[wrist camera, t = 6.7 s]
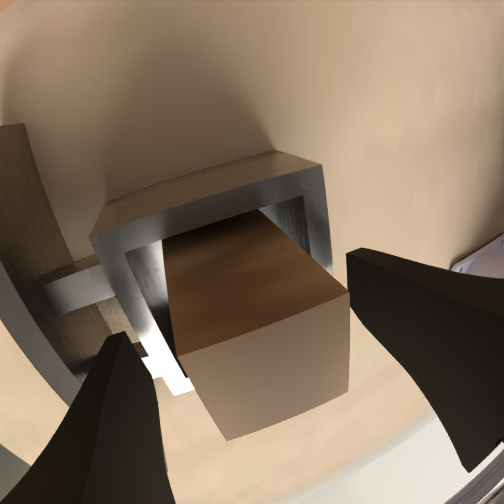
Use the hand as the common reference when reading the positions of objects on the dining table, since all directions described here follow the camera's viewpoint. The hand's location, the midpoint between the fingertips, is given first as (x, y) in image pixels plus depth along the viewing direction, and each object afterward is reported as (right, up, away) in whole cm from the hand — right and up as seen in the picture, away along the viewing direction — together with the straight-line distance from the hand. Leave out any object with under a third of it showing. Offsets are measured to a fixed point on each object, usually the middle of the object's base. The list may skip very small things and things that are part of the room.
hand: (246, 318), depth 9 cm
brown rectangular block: (-1, +2, +3) cm, 4 cm away
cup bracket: (-3, +1, +4) cm, 5 cm away
